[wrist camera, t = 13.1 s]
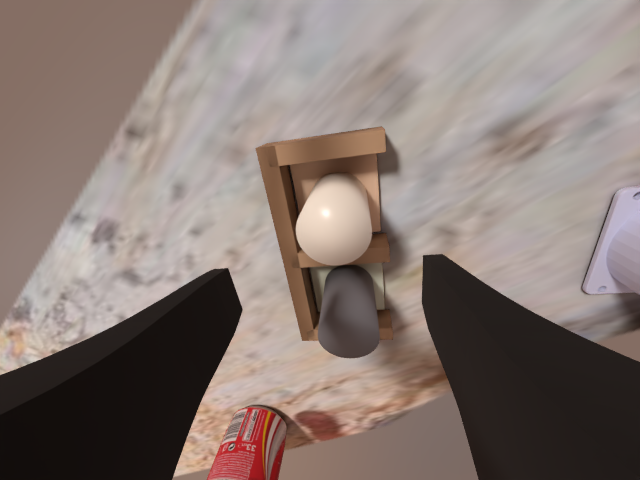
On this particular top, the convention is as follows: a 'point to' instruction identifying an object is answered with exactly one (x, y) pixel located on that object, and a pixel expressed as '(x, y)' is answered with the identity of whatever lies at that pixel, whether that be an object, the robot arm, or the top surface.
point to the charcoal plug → (349, 313)
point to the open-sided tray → (307, 168)
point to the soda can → (251, 446)
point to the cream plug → (335, 220)
